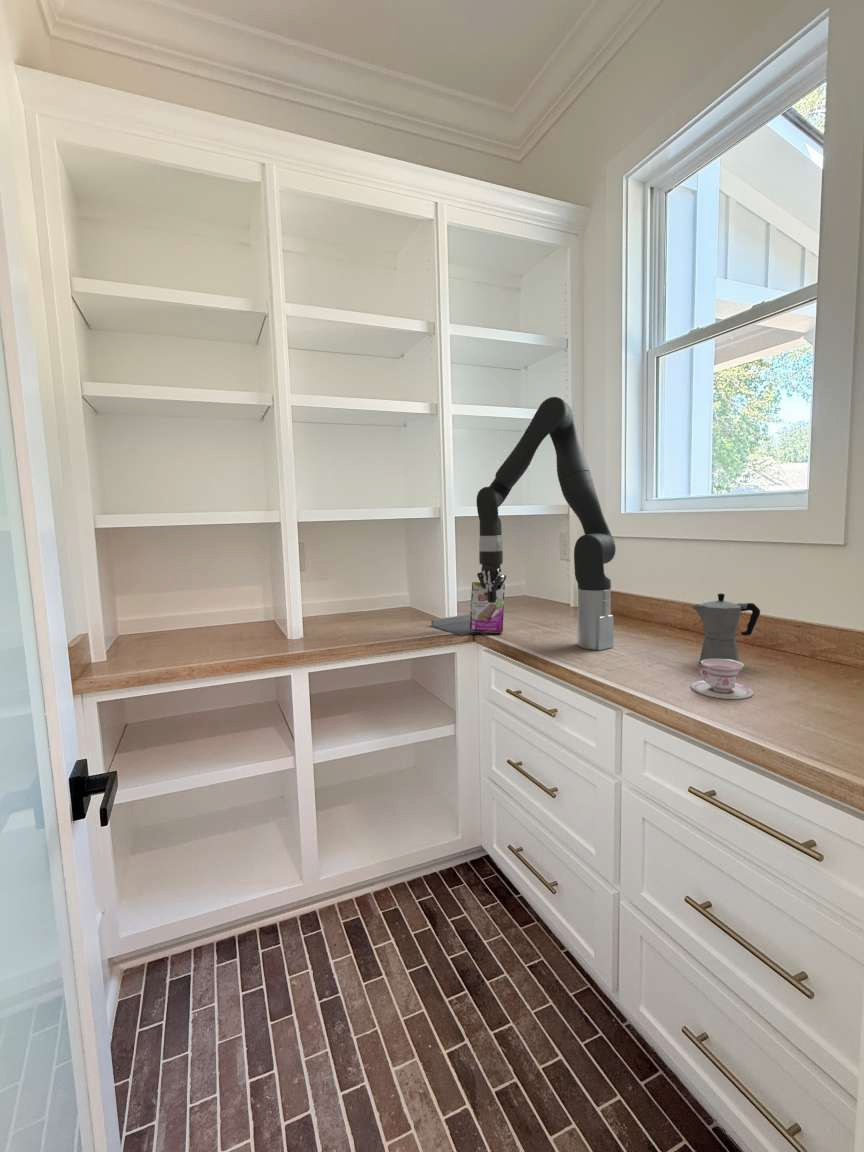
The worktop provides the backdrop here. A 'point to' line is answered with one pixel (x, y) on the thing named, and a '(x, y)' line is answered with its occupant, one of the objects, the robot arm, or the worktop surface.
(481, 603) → the candy bar box
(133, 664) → the worktop surface
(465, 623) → the mat
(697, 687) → the teacup
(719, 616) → the coffeepot
